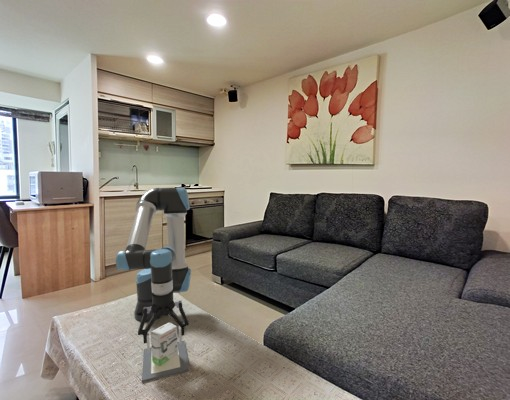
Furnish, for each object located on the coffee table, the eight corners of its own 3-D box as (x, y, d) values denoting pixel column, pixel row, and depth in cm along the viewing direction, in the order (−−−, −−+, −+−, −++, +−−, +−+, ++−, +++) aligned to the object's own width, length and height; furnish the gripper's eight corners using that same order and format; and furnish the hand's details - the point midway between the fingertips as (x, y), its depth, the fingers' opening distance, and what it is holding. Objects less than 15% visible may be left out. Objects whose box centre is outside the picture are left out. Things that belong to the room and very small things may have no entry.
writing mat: (143, 350, 110) (143, 348, 109) (184, 342, 115) (184, 339, 115) (141, 382, 93) (141, 379, 93) (189, 370, 98) (189, 368, 98)
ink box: (159, 366, 99) (157, 336, 98) (151, 361, 102) (150, 331, 101) (178, 354, 106) (177, 325, 105) (170, 349, 109) (169, 321, 107)
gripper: (127, 300, 94) (130, 360, 96) (195, 290, 102) (197, 345, 104) (129, 292, 101) (132, 347, 103) (192, 283, 109) (194, 334, 111)
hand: (164, 346), depth 103 cm, fingers open, 11 cm apart
